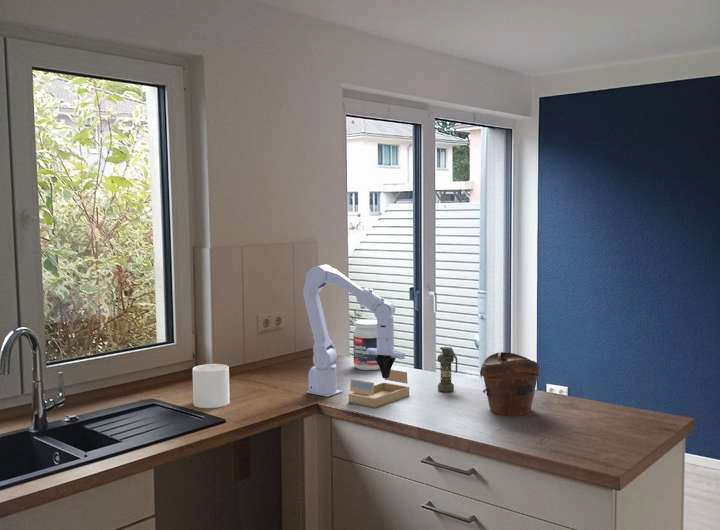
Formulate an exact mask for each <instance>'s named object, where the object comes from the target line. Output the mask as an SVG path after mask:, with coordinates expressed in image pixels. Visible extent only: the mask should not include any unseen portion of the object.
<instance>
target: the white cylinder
mask: <svg viewBox="0 0 720 530" xmlns="http://www.w3.org/2000/svg"><path fill="white" fill-rule="evenodd" d="M191 375H192V398H193V399H192V402H193V406H194V407H196V408H198V409H217V408H222V407H225V406H228V405H229V404H230V401H231V399H230V397H231V395H230V367H229V365H227V364H223V363H206V364H199V365H196V366H193V368H192V374H191Z"/></svg>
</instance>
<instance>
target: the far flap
mask: <svg viewBox="0 0 720 530" xmlns="http://www.w3.org/2000/svg"><path fill="white" fill-rule="evenodd" d="M384 380H385V381H389V382H395V383H401V384H409V383H408V371H403V370H398V369H392V368H391V370H390V375H389V378H384Z"/></svg>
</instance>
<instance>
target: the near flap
mask: <svg viewBox="0 0 720 530" xmlns="http://www.w3.org/2000/svg"><path fill="white" fill-rule="evenodd" d="M349 382H350V385H349V387H350V388H349V391H350V392H351V393H352V392H357V393H363V394H368V395H374V385H375V382H370V381H365V380H361V379H355V378H350V381H349Z"/></svg>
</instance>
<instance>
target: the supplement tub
mask: <svg viewBox="0 0 720 530" xmlns="http://www.w3.org/2000/svg"><path fill="white" fill-rule="evenodd" d="M354 326H355V329H354V331H353V335H352V337H353V366H354V367H355V369H357V370H362V371H377V370H380V368H379V365H378V363H377V362H376V360H375V358H376V357H377V356H378V355H372V354H367V348H377V319H359V320H356V321H355V322H354Z"/></svg>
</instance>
